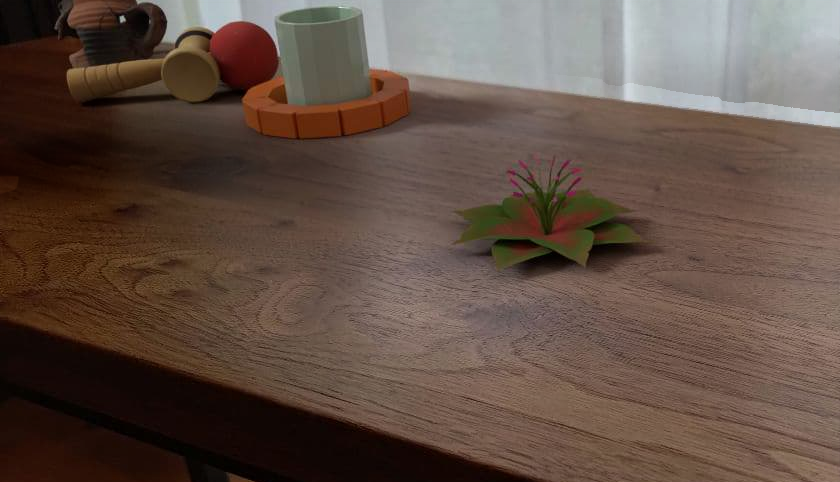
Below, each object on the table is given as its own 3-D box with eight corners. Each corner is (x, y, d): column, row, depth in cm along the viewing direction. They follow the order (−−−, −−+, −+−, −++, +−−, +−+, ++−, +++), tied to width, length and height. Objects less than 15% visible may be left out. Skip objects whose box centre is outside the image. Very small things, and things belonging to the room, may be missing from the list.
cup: (310, 131, 78) (294, 28, 74) (278, 113, 83) (261, 15, 79) (388, 114, 81) (376, 14, 78) (352, 97, 86) (339, 2, 83)
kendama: (72, 131, 85) (279, 85, 86) (45, 57, 83) (258, 11, 84) (100, 121, 92) (291, 79, 93) (76, 52, 90) (271, 10, 91)
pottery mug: (44, 85, 96) (27, 2, 97) (108, 102, 106) (92, 27, 106) (150, 51, 94) (133, -34, 94) (207, 72, 103) (190, -6, 103)
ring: (284, 149, 74) (279, 123, 73) (226, 111, 84) (221, 87, 83) (438, 114, 81) (436, 90, 80) (368, 82, 90) (365, 60, 90)
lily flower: (601, 186, 65) (600, 118, 63) (686, 257, 55) (689, 179, 53) (422, 217, 61) (415, 146, 59) (478, 299, 51) (471, 217, 49)
